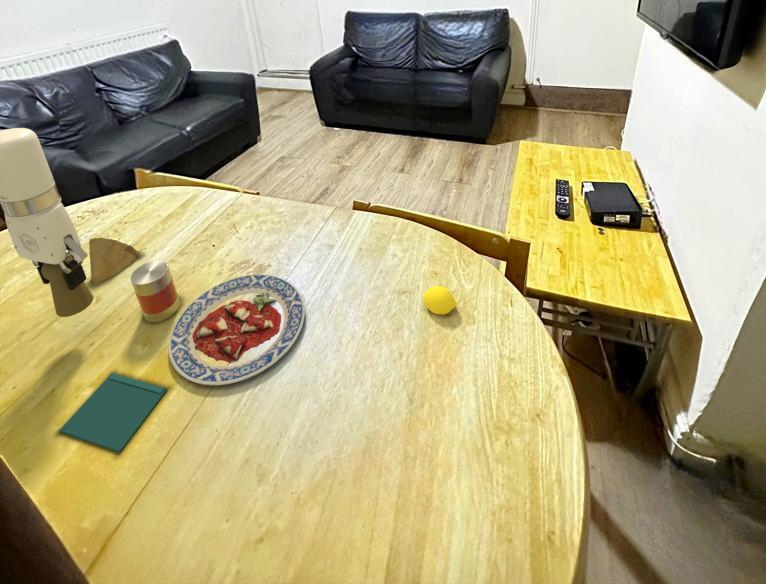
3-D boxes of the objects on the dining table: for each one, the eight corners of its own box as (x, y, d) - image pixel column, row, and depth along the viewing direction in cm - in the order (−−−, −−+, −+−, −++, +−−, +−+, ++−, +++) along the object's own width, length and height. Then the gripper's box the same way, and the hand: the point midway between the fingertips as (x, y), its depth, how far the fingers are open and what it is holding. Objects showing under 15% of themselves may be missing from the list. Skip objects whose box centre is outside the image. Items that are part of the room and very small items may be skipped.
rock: (143, 239, 106) (96, 247, 102) (137, 228, 100) (88, 236, 96) (143, 282, 101) (94, 291, 97) (137, 274, 95) (85, 283, 91)
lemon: (419, 315, 85) (419, 295, 82) (426, 295, 89) (427, 276, 87) (452, 325, 82) (453, 305, 80) (458, 304, 87) (459, 285, 85)
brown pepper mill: (48, 312, 78) (27, 266, 74) (79, 289, 83) (61, 245, 79) (70, 320, 76) (50, 274, 72) (100, 296, 81) (84, 252, 77)
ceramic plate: (210, 425, 66) (206, 413, 65) (149, 334, 83) (145, 324, 81) (331, 323, 83) (330, 313, 82) (261, 265, 100) (259, 255, 98)
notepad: (61, 435, 66) (58, 429, 65) (113, 377, 75) (111, 371, 74) (121, 456, 63) (118, 450, 62) (168, 392, 72) (166, 387, 71)
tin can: (137, 321, 86) (121, 281, 81) (161, 296, 92) (148, 257, 87) (164, 328, 84) (150, 287, 79) (187, 302, 90) (175, 262, 86)
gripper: (-30, 204, 69) (10, 287, 76) (48, 219, 65) (83, 306, 72) (17, 182, 76) (50, 260, 83) (90, 194, 71) (118, 275, 79)
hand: (65, 280), depth 77 cm, fingers closed on brown pepper mill, 5 cm apart
